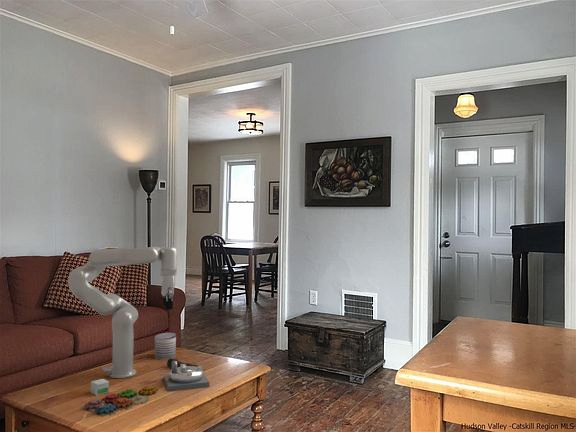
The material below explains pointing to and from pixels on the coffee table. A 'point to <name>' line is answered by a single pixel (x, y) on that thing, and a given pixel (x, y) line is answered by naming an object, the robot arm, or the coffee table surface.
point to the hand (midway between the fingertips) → (167, 307)
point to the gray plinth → (181, 386)
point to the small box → (99, 386)
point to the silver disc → (185, 373)
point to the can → (165, 346)
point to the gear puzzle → (119, 401)
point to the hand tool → (178, 363)
